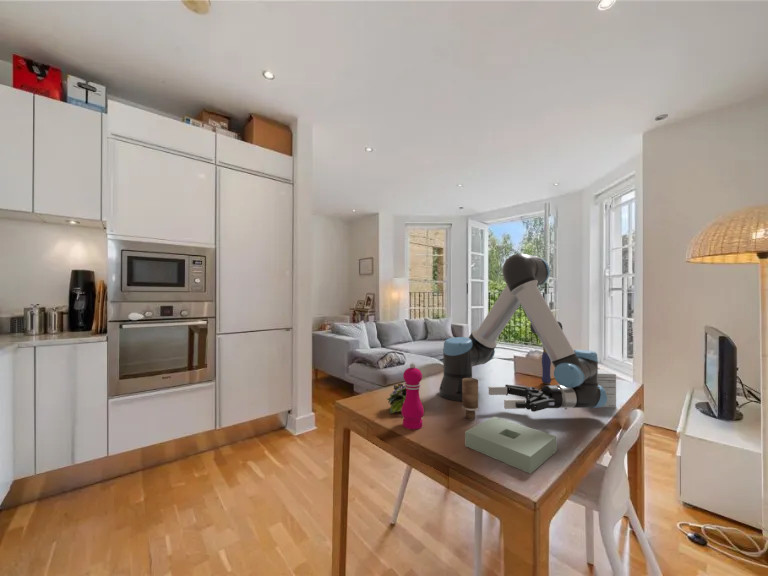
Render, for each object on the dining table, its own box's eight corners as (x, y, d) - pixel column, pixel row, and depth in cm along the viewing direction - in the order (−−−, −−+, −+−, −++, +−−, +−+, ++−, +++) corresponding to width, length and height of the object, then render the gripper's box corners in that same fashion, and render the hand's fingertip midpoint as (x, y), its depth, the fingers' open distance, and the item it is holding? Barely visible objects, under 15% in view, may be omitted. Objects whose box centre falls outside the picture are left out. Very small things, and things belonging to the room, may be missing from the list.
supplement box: (585, 400, 125) (584, 368, 125) (604, 401, 124) (604, 369, 124) (596, 407, 118) (595, 373, 118) (617, 407, 117) (616, 373, 117)
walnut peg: (458, 417, 107) (458, 379, 107) (467, 413, 111) (467, 376, 111) (472, 422, 103) (472, 383, 103) (481, 418, 107) (481, 380, 107)
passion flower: (398, 421, 117) (406, 390, 124) (420, 424, 110) (428, 391, 116) (377, 410, 112) (387, 378, 118) (399, 412, 104) (409, 378, 110)
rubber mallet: (564, 385, 144) (563, 320, 145) (555, 388, 140) (555, 321, 141) (538, 379, 155) (537, 318, 155) (529, 381, 151) (529, 319, 151)
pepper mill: (417, 432, 96) (417, 366, 96) (397, 426, 100) (397, 363, 100) (427, 423, 102) (427, 362, 103) (407, 419, 106) (407, 359, 106)
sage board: (465, 445, 88) (465, 431, 88) (494, 429, 98) (494, 416, 98) (530, 473, 74) (530, 456, 74) (556, 451, 85) (556, 436, 85)
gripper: (581, 422, 95) (512, 423, 95) (538, 395, 120) (483, 396, 120) (581, 397, 95) (512, 398, 95) (538, 375, 120) (483, 376, 120)
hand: (496, 397), depth 107 cm, fingers open, 13 cm apart
